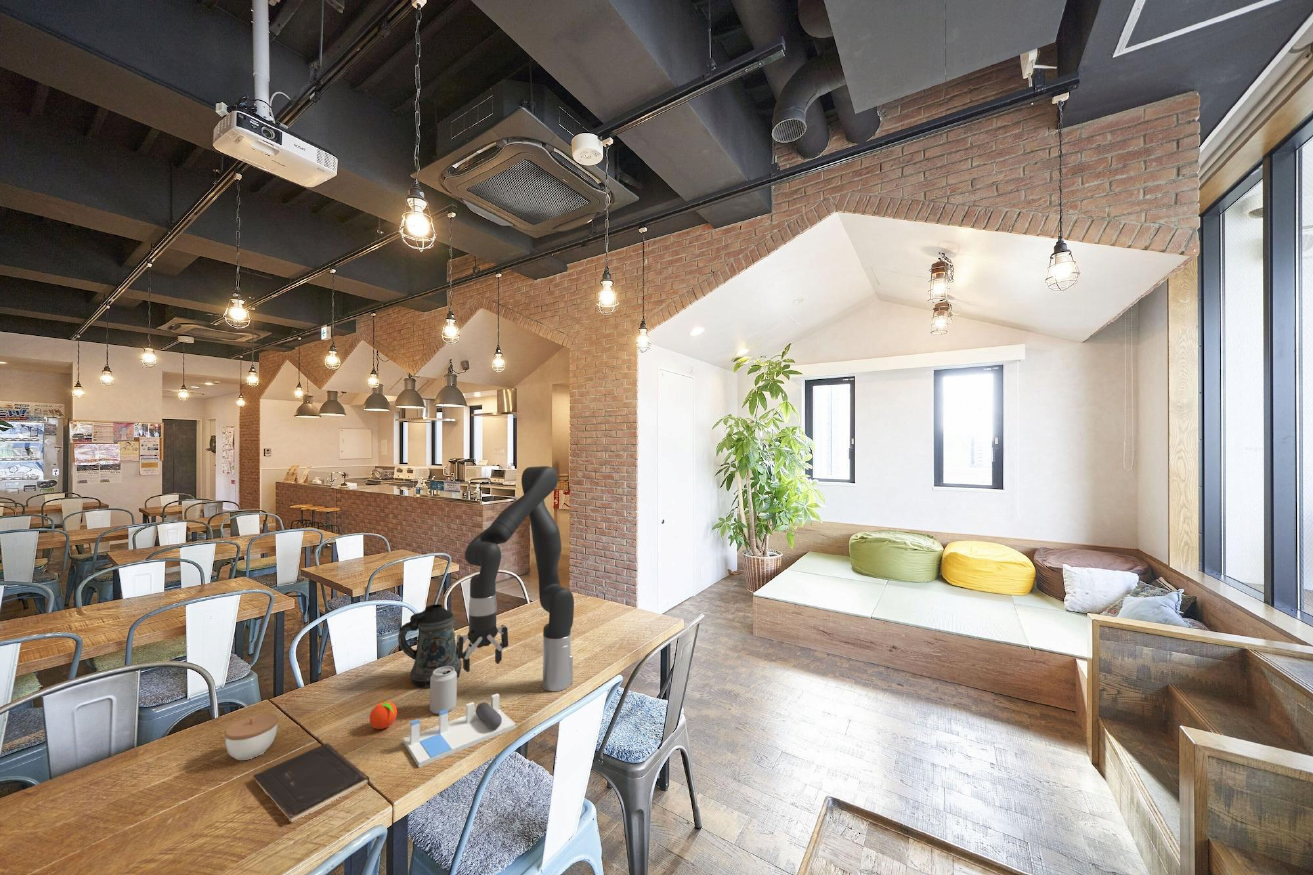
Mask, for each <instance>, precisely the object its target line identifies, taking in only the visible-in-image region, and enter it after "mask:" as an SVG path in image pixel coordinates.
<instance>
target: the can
mask: <svg viewBox="0 0 1313 875" xmlns="http://www.w3.org/2000/svg"><path fill="white" fill-rule="evenodd" d="M454 670H455V669H454V668H453V667H451V666H445V667H440V668H437V669H435V670H434V671H433V675H432V676H431V678H430V688H429V690H430V691H429V711H430V712H432V714H435V715H439V712H440V711H443V710H445V709H447V710H448V713H450V712H452V710H453V709H454V708H456V706H457V688H458V687H457V685H458V683H457V679H458V678H457V673H456V671H454Z"/></svg>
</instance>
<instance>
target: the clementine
mask: <svg viewBox="0 0 1313 875" xmlns="http://www.w3.org/2000/svg"><path fill="white" fill-rule="evenodd" d="M397 716H398V710H397V706H396V705H395V704H394V703H393V702H391V701H387V700H386V701H382V702H379V703H378V704H376V705H375V706H374V707H373V708H372V710H371V711H370V714H369V723H370V725H371V726H372V727H373V728H374V729H377V730H383V729H386V728H388V727H390V726H391V725H393V723H394V722H395V721H396V718H397Z"/></svg>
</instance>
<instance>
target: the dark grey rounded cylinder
mask: <svg viewBox="0 0 1313 875" xmlns="http://www.w3.org/2000/svg"><path fill="white" fill-rule="evenodd" d="M475 708H476V709H475V712H476V714H477V716H478V717H479V718H480V719H481V720H482V721H483V722H484V723H485V724H486V725H487V726H488V727H489V728H490V729H496V728H498V727H499V726H500V724H501V722H502V718H501V716H500V714H499V713H497V712H496V711H495V710H494V709H493V708H492V707H491V704H489V703H488V702H486V701H484V702H483V701H482V702H479V703H478V705H477V706H476V707H475Z"/></svg>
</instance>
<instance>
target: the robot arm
mask: <svg viewBox="0 0 1313 875" xmlns="http://www.w3.org/2000/svg"><path fill="white" fill-rule="evenodd" d="M558 481H559V476H558V473H557V471H556V468H554V467H551V466H548V465H545V466H544V465H542V466H539V465H538V466H529V467H526V468H525V469H524V470H523V472H522V474H521V488H522V491H523V494H522V496H521V497H519V498H518V499H516V500H515V501H513V502H512V503H511V504H509V505H507V507H505V508H504V509H503V510H502V511H501V512H500V513H499V514H498V516H496V518H495V519H494V520H493V522H492V523H491V524H490V526H489V527H487V528H486V529H485V530H483V531H482V532H481V533H479V534H478V535H477V536H475V537H474V538H473V539H472V540H471V541H470V542H469V543H468V545H467V546H466V548H465V551H464V559H465V561H466V562H467V563H468V564H469V565H471V566H476V567H477V566H478V567H480V570H479V573H477V574H475V575H472V577H471V578H470V582H469V602H468V604H469V605H468V632H467V634H457V636H456V656H457V657H458V658H459V659H460V660H461V659H462V669H464V671H466V672H465V673H469V672H471V671H470V670H471V669H470V668H471V667H470V666H471V664H470V663H471V661H470V657H471V655H472V654H473V653H474V652H475V651H476V649H480V648H483V647H489V646H490V645H491V644H492V645H493V646H494V647H495V650H494V662H495V664H496V665H499V664H500V663H501V662H502V659H503V654H502V653H503V649H504V648H508V647H509V634H508V631H509V630H508V627H507V626H506V625H505V624H502V625H501V626H499V627H497V608H498V606H497V596H496V595H497V594H496V593H497V592H496V591H497V590H496V587H497V586H496V584H497V583H496V580H497V577H498V573H499V569H500V564H501V562H502V551H501V548H500V546H499V545H501V544H504V543H507V542H508V541H509V540H510V539H511V537H512V536H513V535H514V534H515V532H516V531H517V529H518V528H519V527H520V525H521V524H522V523H523V522H524V520H525V519H526V518H527V517H529V518H528V519H529V523H530V524H529V525H530V529H531V539H532V545H533V550H534V556H535V557H534V558H535V562H536V563H535V564H536V569H537V575H538V576H537V577H538V591H539V592H538V595H539V603H540V606H541V608H542V609H543V610H544V611H545V612H546V613H549V614H548V615H549V616H548V623H546V624H545V625H544V626H543V629H542V630H543V632H542V634H543V635H542V637H543V638H542V644H543V645H542V652H543V653H542V687H543V689H544V690H545V691H548V692H558V691H563V690H566V689H567V688H569V687H570V686H571V685H573V684H574V683H573V682H574V681H573V680H574V678H573V677H574V670H573V669H574V655H572V654H571V652H572V651H571V645H572V643H571V640H572V637H571V636H572V635H571V633H572V632H571V630H572V627H573V626H574V616H575V614H574V612H575V599H574V595H573V593H572V591H570V590H569V589H567V588H565V587H563V586H562V585H561V581H560V577H559V562H560V558H561V555H562V539H561V533H560V532H561V531H560V529H559V526H558V524H557V523H556V522H557V521H556V520H555V519H554V517H553V516H552V514H551V513H550V512H549V510H548V508H547V506H546V503H545V500H546V499H547V497H548V496H549V495H551V493H552V492H553V491H554V490H555V489H556V488H557V486H558ZM498 633H499V634H500V637H501V642H500V643H499V642H498V641H497V640H496V639H495V638H496V636H497V635H498ZM467 640H468V641H469V642H468V643H467V645H466V648H465V649H464V644H465V643H466V641H467Z"/></svg>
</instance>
